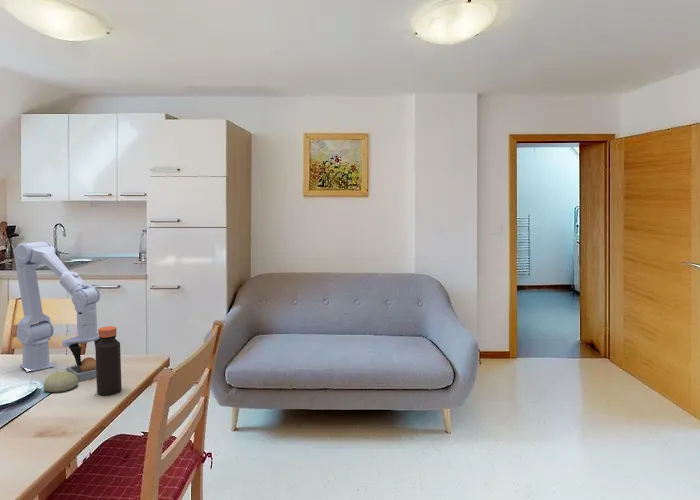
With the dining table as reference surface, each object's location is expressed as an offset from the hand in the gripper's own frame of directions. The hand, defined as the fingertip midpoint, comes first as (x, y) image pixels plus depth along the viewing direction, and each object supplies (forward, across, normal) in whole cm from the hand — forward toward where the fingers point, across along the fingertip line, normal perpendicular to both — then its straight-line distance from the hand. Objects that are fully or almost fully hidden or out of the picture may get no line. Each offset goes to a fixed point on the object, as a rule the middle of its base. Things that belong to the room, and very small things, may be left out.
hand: (88, 363), depth 158 cm
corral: (+4, 0, 0) cm, 4 cm away
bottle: (+4, -1, -20) cm, 20 cm away
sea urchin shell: (+4, -10, -6) cm, 13 cm away
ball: (+3, 0, 0) cm, 3 cm away
